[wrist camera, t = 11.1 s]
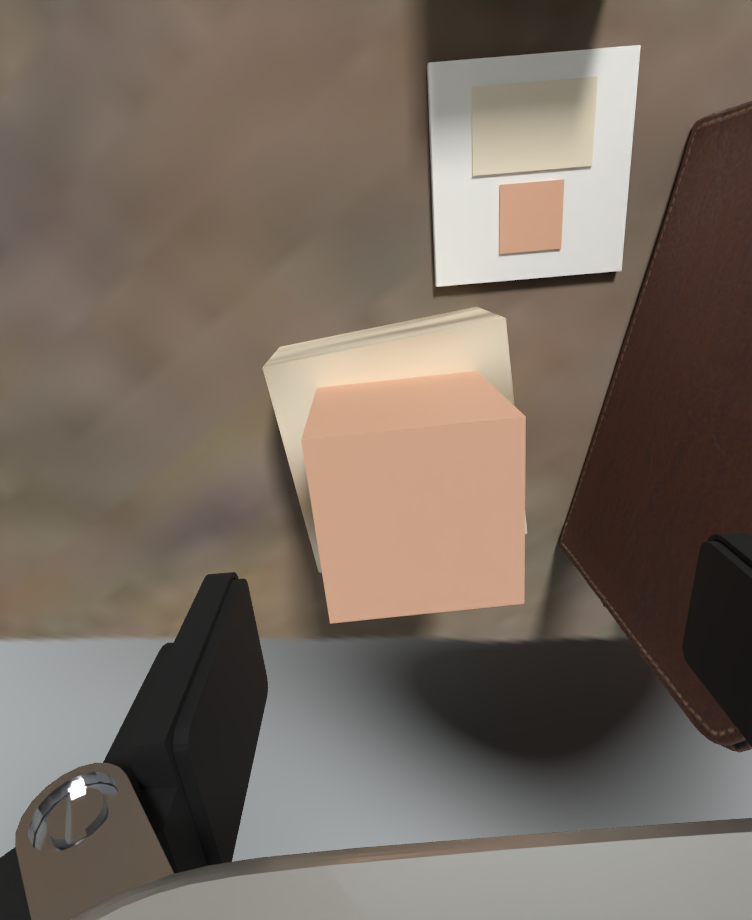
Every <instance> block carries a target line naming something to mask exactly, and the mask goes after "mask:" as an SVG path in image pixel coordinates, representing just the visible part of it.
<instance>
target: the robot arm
mask: <svg viewBox="0 0 752 920" xmlns="http://www.w3.org/2000/svg"><path fill="white" fill-rule="evenodd" d="M682 650H683V655H684V658H685V660H686V662H687V664H688V665H689V667H690V668H691V669H692V670H693V672H694V673H695V674H696V676H697V677H698V678H699V679H700V681H701V682H702V683H703V685H704V686H705V687H706V689H707V690H708V691H709V692H710V694H711V695H712V696H713V698H714V699H715V700H716V701H717V703H718V704H719V705H720V707H721V708H722V709H723V710H724V712H725V713H726V714H727V716H728V717H729V718H730V720H731V721H732V722H733V723H734V725H735V726H736V727H737V729H738V730H739V731H740V732H741V734H742V735H743V736H744V738H745V739H746V740H747V741H748V743H749V744H750V745H751V747H752V536H750V535H749V534H747V533H745V532H733V533H721V534H713V535H711V536H710V537H709V538H708V540H707V542H704V543H703V544H702V545H701V547H700V550H699V556H698V561H697V567H696V572H695V578H694V583H693V589H692V594H691V600H690V605H689V611H688V616H687V622H686V627H685V633H684V638H683V644H682ZM267 692H268V681H267V675H266V670H265V665H264V660H263V655H262V650H261V645H260V640H259V636H258V631H257V626H256V621H255V616H254V611H253V607H252V602H251V597H250V592H249V587H248V583H247V581H246V579H238V576H237V574H236V573H235V572H232V573H219V574H208V575H206V577H205V578H204V580H203V582H202V585H201V587H200V589H199V591H198V593H197V595H196V597H195V599H194V601H193V603H192V606H191V608H190V610H189V612H188V614H187V616H186V618H185V620H184V622H183V624H182V626H181V629H180V631H179V633H178V635H177V637H176V639H175V641H174V643H167V644H165V645H164V646H162V648H161V650H160V651H159V653H158V655H157V657H156V659H155V661H154V663H153V664H152V667H151V668H150V671H149V673H148V674H147V676H146V679H145V680H144V682H143V684H142V686H141V688H140V690H139V692H138V694H137V696H136V698H135V700H134V702H133V704H132V706H131V708H130V710H129V712H128V714H127V716H126V718H125V720H124V722H123V724H122V726H121V728H120V730H119V732H118V734H117V736H116V738H115V740H114V742H113V744H112V746H111V748H110V750H109V752H108V754H107V756H106V758H105V760H104V762H103V763H93V764H89V765H85V766H82V767H78V768H76V769H74V770H72V771H70V772H68V773H66V774H64V775H62V776H61V777H60V778H58V779H57V780H55V781H54V782H52V783H51V784H50V785H48V786H47V787H46V788H45V789H44V790H43V791H42V792H41V793H40V794H39V795H38V796H37V797H36V798H35V799H34V800H33V801H32V802H31V804H30V805H29V807H28V808H27V810H26V811H25V813H24V814H23V816H22V817H21V820H20V823H19V825H18V829H17V831H16V844H15V848H14V849H12V850H11V851H9V852H8V853H6V854H5V855H4V856H2V857H1V858H0V920H752V818H746V819H731V820H716V821H702V822H688V823H674V824H661V825H647V826H634V827H621V828H606V829H593V830H581V831H566V832H553V833H542V834H541V833H540V834H527V835H514V836H501V837H489V838H476V839H464V840H452V841H439V842H426V843H415V844H402V845H389V846H377V847H364V848H353V849H343V850H333V851H323V852H314V853H303V854H293V855H283V856H273V857H263V858H255V859H248V860H242V861H235V862H232V858H233V853H234V849H235V844H236V839H237V834H238V830H239V825H240V820H241V815H242V811H243V806H244V802H245V797H246V792H247V788H248V783H249V778H250V773H251V769H252V764H253V760H254V755H255V750H256V746H257V741H258V736H259V731H260V727H261V722H262V717H263V713H264V708H265V704H266V699H267Z"/></svg>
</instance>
